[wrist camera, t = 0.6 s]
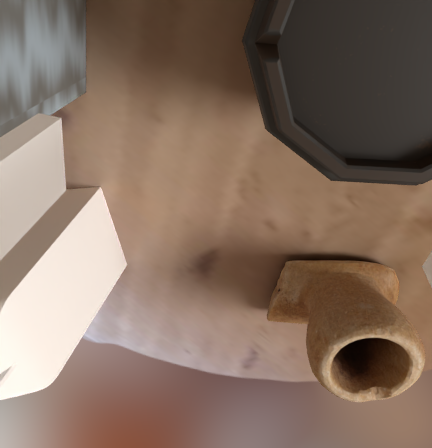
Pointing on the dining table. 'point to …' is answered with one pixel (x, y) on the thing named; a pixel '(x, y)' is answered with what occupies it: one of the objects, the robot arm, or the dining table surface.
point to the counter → (40, 58)
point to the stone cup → (351, 326)
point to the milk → (55, 288)
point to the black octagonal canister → (347, 84)
